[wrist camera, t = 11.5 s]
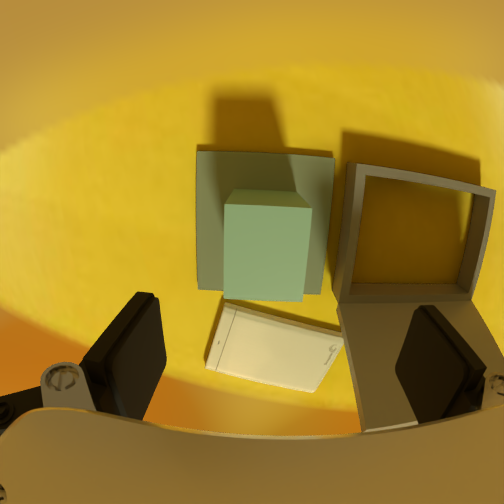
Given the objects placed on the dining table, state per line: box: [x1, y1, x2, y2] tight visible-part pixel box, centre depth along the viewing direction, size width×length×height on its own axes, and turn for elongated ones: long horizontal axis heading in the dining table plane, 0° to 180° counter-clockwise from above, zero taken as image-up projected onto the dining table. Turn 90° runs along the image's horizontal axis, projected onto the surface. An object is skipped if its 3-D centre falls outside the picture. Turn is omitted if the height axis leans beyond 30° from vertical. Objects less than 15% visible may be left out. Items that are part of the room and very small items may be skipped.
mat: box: [196, 151, 335, 294], centre depth 24 cm, size 11×12×1 cm
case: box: [332, 162, 496, 303], centre depth 23 cm, size 16×12×2 cm
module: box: [224, 189, 312, 302], centre depth 21 cm, size 5×6×7 cm
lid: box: [336, 300, 504, 432], centre depth 19 cm, size 16×12×2 cm
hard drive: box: [205, 302, 344, 393], centre depth 29 cm, size 2×8×12 cm
